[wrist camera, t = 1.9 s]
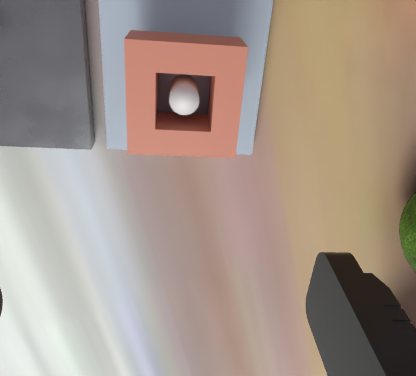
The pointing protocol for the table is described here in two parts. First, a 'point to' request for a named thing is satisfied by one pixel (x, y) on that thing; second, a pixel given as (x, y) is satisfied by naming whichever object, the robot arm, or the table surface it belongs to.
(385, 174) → the table surface
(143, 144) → the salmon square frame
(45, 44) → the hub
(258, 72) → the stand
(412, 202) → the avocado
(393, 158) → the table surface
